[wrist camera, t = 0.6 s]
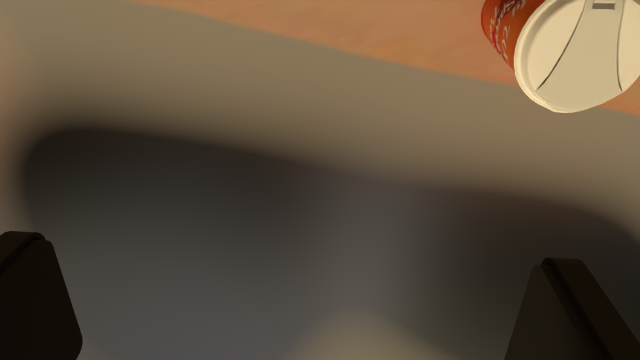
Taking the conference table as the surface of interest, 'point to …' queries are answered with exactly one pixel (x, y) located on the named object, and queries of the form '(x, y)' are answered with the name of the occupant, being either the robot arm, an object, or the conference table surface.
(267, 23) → the conference table surface
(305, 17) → the conference table surface
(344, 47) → the conference table surface
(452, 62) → the conference table surface
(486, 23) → the paper cup
